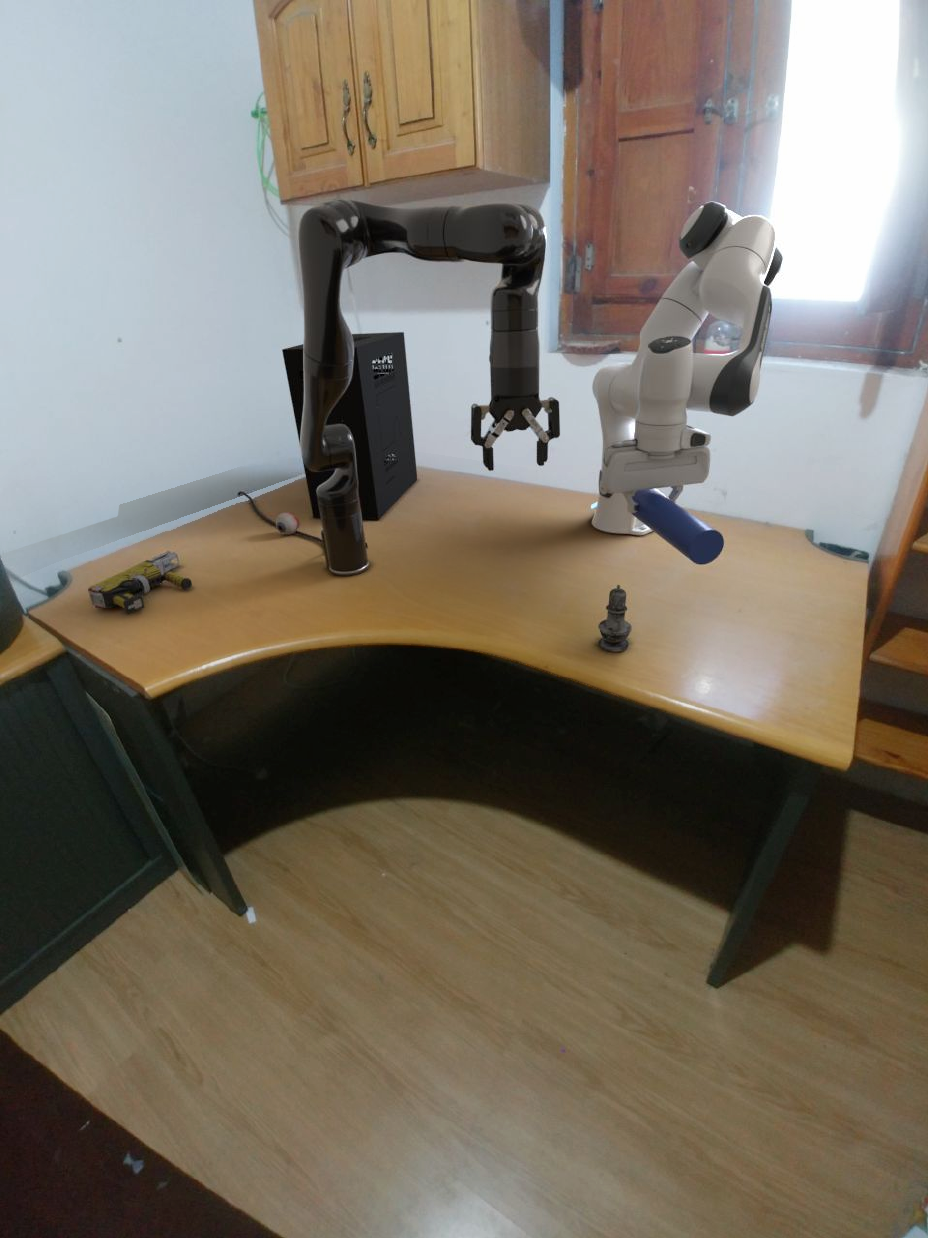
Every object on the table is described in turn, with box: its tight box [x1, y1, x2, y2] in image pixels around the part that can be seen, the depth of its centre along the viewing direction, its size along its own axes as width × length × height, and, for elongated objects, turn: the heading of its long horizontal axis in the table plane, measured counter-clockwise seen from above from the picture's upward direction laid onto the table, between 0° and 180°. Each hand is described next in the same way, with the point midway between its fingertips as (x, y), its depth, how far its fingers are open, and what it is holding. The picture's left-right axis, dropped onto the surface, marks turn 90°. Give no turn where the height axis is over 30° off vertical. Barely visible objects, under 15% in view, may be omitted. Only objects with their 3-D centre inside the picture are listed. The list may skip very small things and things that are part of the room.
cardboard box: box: [281, 331, 418, 521], centre depth 178 cm, size 38×20×45 cm, turn 167°
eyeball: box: [275, 511, 300, 536], centre depth 163 cm, size 6×6×6 cm
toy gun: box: [87, 550, 193, 615], centre depth 138 cm, size 5×24×15 cm
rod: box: [631, 489, 725, 566], centre depth 109 cm, size 23×6×6 cm, turn 11°
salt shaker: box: [597, 584, 633, 653], centre depth 106 cm, size 6×6×12 cm
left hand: (515, 467), depth 100 cm, fingers open, 8 cm apart
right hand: (651, 509), depth 116 cm, fingers closed on rod, 6 cm apart
